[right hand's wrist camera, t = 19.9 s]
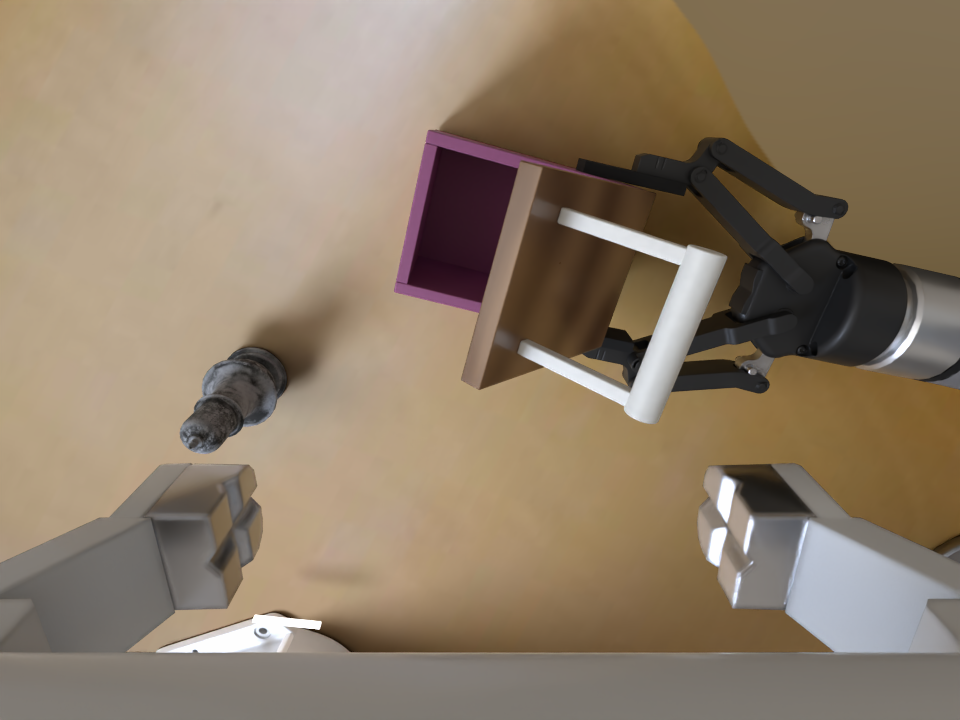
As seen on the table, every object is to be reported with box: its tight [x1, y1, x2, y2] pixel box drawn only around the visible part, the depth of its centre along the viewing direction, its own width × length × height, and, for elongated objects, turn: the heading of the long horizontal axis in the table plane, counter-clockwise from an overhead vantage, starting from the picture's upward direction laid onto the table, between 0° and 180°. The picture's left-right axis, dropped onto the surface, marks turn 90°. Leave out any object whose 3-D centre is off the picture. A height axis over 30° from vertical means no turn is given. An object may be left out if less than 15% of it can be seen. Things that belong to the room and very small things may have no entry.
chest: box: [394, 130, 640, 313], centre depth 40 cm, size 13×10×10 cm
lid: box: [461, 160, 727, 424], centre depth 28 cm, size 14×10×8 cm
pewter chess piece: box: [180, 347, 287, 454], centre depth 43 cm, size 6×6×12 cm
